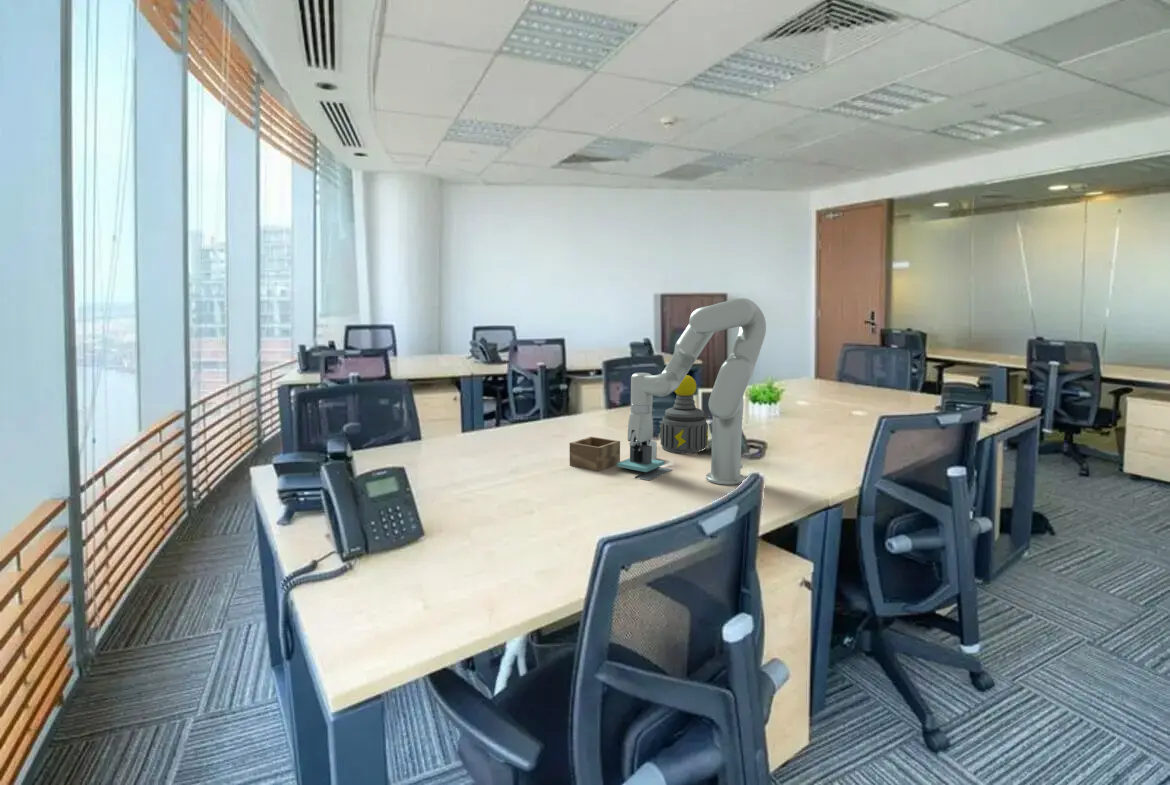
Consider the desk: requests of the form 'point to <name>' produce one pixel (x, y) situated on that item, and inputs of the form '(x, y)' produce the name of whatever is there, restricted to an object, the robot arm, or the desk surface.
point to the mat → (653, 473)
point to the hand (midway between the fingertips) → (640, 460)
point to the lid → (646, 462)
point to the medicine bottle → (653, 449)
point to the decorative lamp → (684, 422)
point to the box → (594, 453)
